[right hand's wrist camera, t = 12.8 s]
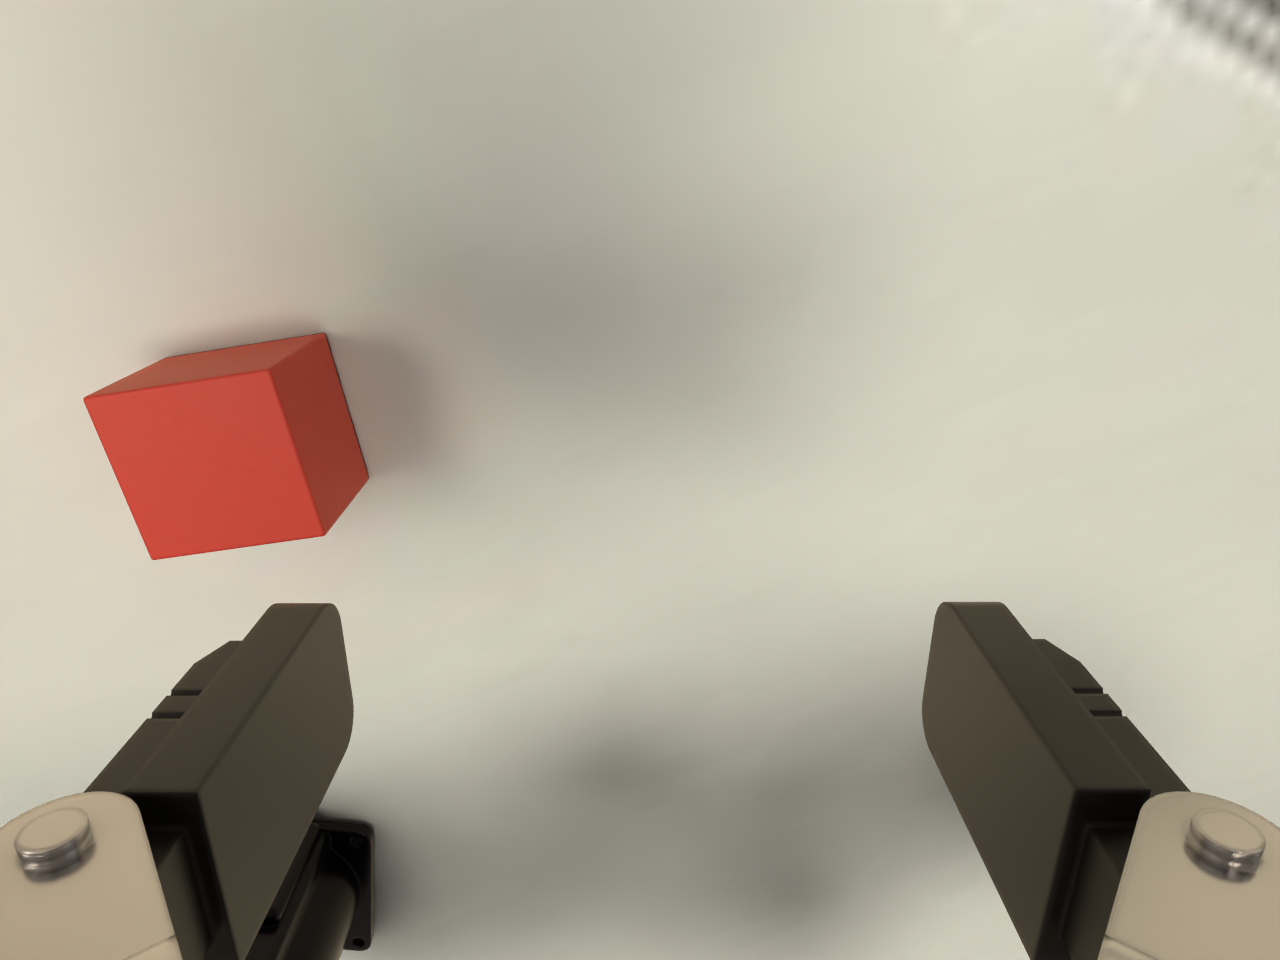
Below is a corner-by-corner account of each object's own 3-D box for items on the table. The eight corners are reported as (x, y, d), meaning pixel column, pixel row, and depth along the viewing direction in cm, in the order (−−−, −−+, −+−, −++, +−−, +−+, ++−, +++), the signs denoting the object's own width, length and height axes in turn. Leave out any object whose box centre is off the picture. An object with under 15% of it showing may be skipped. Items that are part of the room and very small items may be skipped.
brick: (164, 357, 26) (80, 397, 22) (325, 331, 26) (269, 368, 22) (219, 501, 28) (150, 561, 24) (369, 479, 27) (325, 536, 24)
